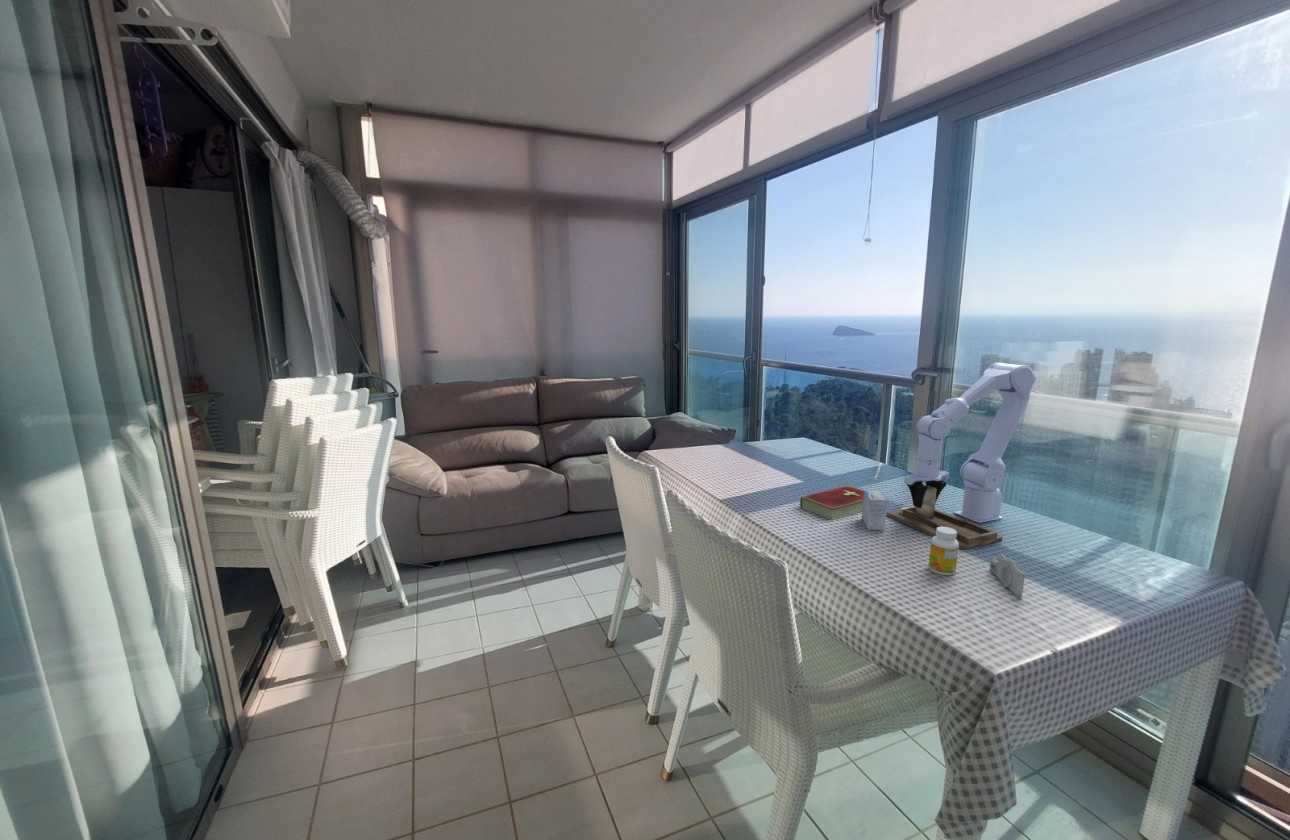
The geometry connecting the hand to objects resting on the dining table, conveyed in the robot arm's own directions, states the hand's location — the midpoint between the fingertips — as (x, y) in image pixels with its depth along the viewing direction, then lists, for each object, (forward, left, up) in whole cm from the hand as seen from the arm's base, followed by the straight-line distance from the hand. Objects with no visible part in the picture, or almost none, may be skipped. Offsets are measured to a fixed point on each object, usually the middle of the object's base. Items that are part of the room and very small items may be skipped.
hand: (923, 505), depth 146 cm
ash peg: (0, 0, -3) cm, 3 cm away
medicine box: (+16, -2, -4) cm, 17 cm away
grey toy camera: (+13, +33, -4) cm, 36 cm away
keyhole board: (0, +6, -4) cm, 7 cm away
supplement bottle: (+21, +24, -4) cm, 32 cm away
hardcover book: (+15, -16, -5) cm, 23 cm away
